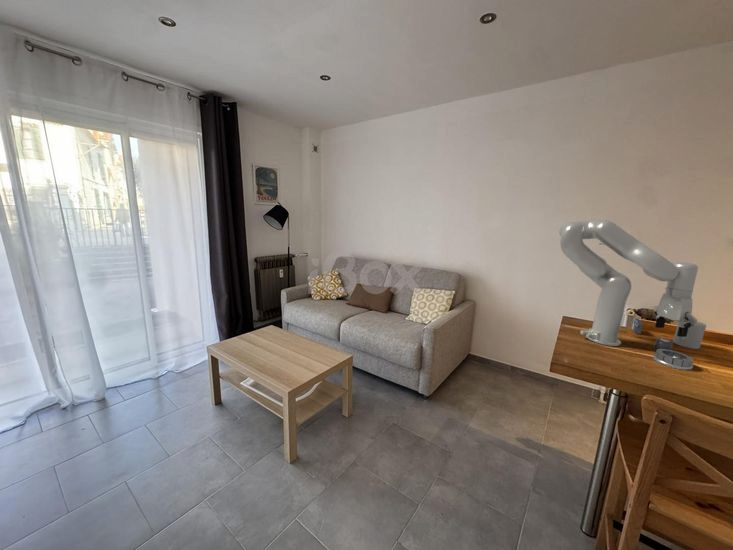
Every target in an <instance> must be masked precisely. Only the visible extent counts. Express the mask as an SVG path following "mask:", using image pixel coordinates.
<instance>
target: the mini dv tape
mask: <svg viewBox="0 0 733 550" xmlns="http://www.w3.org/2000/svg"><path fill="white" fill-rule="evenodd" d="M643 325H644V323H643V322H642V321H641V320H640V319H639V318H633V319H632V324H631V327H630V330H631V331H632V332H633V333H634V334H635V335H639V336H641V333H642V329H643Z"/></svg>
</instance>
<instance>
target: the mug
mask: <svg viewBox="0 0 733 550" xmlns="http://www.w3.org/2000/svg"><path fill="white" fill-rule="evenodd" d="M689 321H690V320H689ZM689 321H688V322H689ZM683 323H684V322H683ZM684 324H685V323H684ZM679 327H681V326H680V324H679V322H678V321H677V326H676V330H675V333H674V336H673V339H672V342H673V344H675V345H676V346H680V347H682V348H687V349H691V350H692V349H693V350H699V349H701V345H702V342H703V339H704V336H705V331H706V328H707V324H705V323H703V322H700V321H697V322H696V323H695V324H694V325H693V326H691V327H690V328H688V332H687V336H686V337H679V336H677V333H678V328H679Z"/></svg>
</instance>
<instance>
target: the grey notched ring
mask: <svg viewBox="0 0 733 550" xmlns="http://www.w3.org/2000/svg"><path fill="white" fill-rule="evenodd" d="M652 359H653V360H654V361H655V362H657V363H659V364H660V365H663V366H665V367H669V368H673V369H677V370H680V371H681V370H682V371H691V370H692V369H693V368H694V365H693V364H694V359H693V358H692V356H689V355H687V354H685V353H683V352H680V351H676V350H672V349H671V350H667V349H657V350H656V351H655V353H654V354H653V355H652Z"/></svg>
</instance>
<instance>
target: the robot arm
mask: <svg viewBox="0 0 733 550" xmlns="http://www.w3.org/2000/svg"><path fill="white" fill-rule="evenodd" d="M558 232H559V236H560V239H559V244H560V245H559V246H560V249H561V251H562V253H563V254H564V255H565V257H566V258H568V259H569V260H570V261H571V262H572V263H573V264H574V265H576V266H577V268H579V270H580V272H582V273H583V274H584V275H585V276H586V277H588V278H589V279H590V280H591V281H592V282H594V283H595V285H598V287H600V288H601V291H600V293H599V295H598V300H597V302H596V309H595V312H594V317H593V322H592V327H590V328H589V329H587V330H584V329H581V330H580V331H579V332H580V333H579V334H581V335H585V337H586V338H587V339H588V340H589V341H591V342H593V343H597V344H600V345H603V346H607V347H608V346H609V347H619V346H621V344H622V341H621V340H619V339H618V337H619V333H620V329H621V325H622V320H623V317H624V313H625V312H624V311H625V307H626V303H627V300H628V297H629V295H630V293H631V290H632V281H631V280H630V278H629V277H628V276H627V275H625V274H622V273H620V272H618V270H616V269H614V268H613V267H612V266H611V265H609V263H608V262H607V261H606V260H605V258H603V257H601V256H599V255H598V254H597V253H595V252H594V251H593V250H592V249H591V248H590V247H589V246H587V244H585V242H584V240H595V239H596V240H598V241H599V242H601V243H602V244H604V245H605V246H607V247H608V248H609V249H610V250H612V251H613V252H614V253H615V254H617V255H618V256H620V257H621V258H623V259H625V260H627V261H629V262H631V263H633V264H635V265H636V266H638V267H640V268H641V269H642V270H643V273H644V274H645V275H646V276H647V277H650V278H652V279H655V280H657V281H659V282H667V284H666V287H665V289H664V290H665V293H663V294H662V296H661V298H660V300H659V303H658V305H657V306H654V307H653V311H654V314H655V318H656V321H655V326H654V327H655V328H656V329H664V328H665V324H666V319H668V320H670V321H673V322H677V323H678V322H679V324H680V326H681V327H679V328H678V333H677V336H679V337H686V336H687V332H688V328H690V327H691V326H693V325H694V324H695V323H696V322H698V319H697V318H696V317H695V316H693V315H692V314H693V313H692V311H693V298H692V297H693V291H694V289H695V288H694V287H695V283H696V278H697V276H698V275H697V274H698V271H699V270H698V269H699V266H698V265H697V264H695V263H691V262H681V261H678V262H672V261H670V260H668V259H667V258H665V257H664V256H663V255H661V254H660V253H658V252H657V251H655V250H653V249H652V248H650V247H649V246H647V245H646V244H645V243H644V242H641V241H640V240H638V239H637V238H636V237H634V236H633V235H631V234H630V233H628V232H627V231H625V230H624V229H623V228H622V227H620V226H619V225H617V224H616V223H614V222H613V221H612V220H607V219H605V220H604V219H598V220H584V221H583V220H582V221H568V222H566V223H563V224H562V225H561V226H560V228H559V230H558ZM689 320H690V321H689ZM688 321H689V322H688ZM683 322H684V323H685V324H684V323H683Z"/></svg>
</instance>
